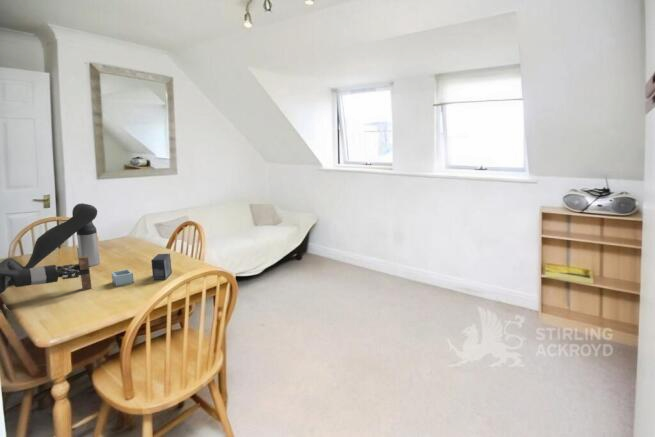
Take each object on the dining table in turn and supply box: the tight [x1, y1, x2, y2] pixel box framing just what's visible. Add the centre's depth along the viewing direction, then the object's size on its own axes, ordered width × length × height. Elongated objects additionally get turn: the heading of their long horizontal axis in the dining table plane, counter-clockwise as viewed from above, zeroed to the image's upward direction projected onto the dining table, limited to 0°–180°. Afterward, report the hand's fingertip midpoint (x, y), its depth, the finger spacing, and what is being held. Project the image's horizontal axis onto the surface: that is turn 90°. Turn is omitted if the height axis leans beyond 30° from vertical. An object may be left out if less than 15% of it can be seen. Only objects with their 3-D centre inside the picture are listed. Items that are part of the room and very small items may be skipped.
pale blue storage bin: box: [111, 268, 135, 288], centre depth 191 cm, size 8×8×5 cm
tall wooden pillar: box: [78, 256, 93, 291], centre depth 183 cm, size 3×3×15 cm
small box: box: [150, 253, 173, 281], centre depth 199 cm, size 11×6×10 cm, turn 5°
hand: (86, 269), depth 183 cm, fingers open, 8 cm apart
